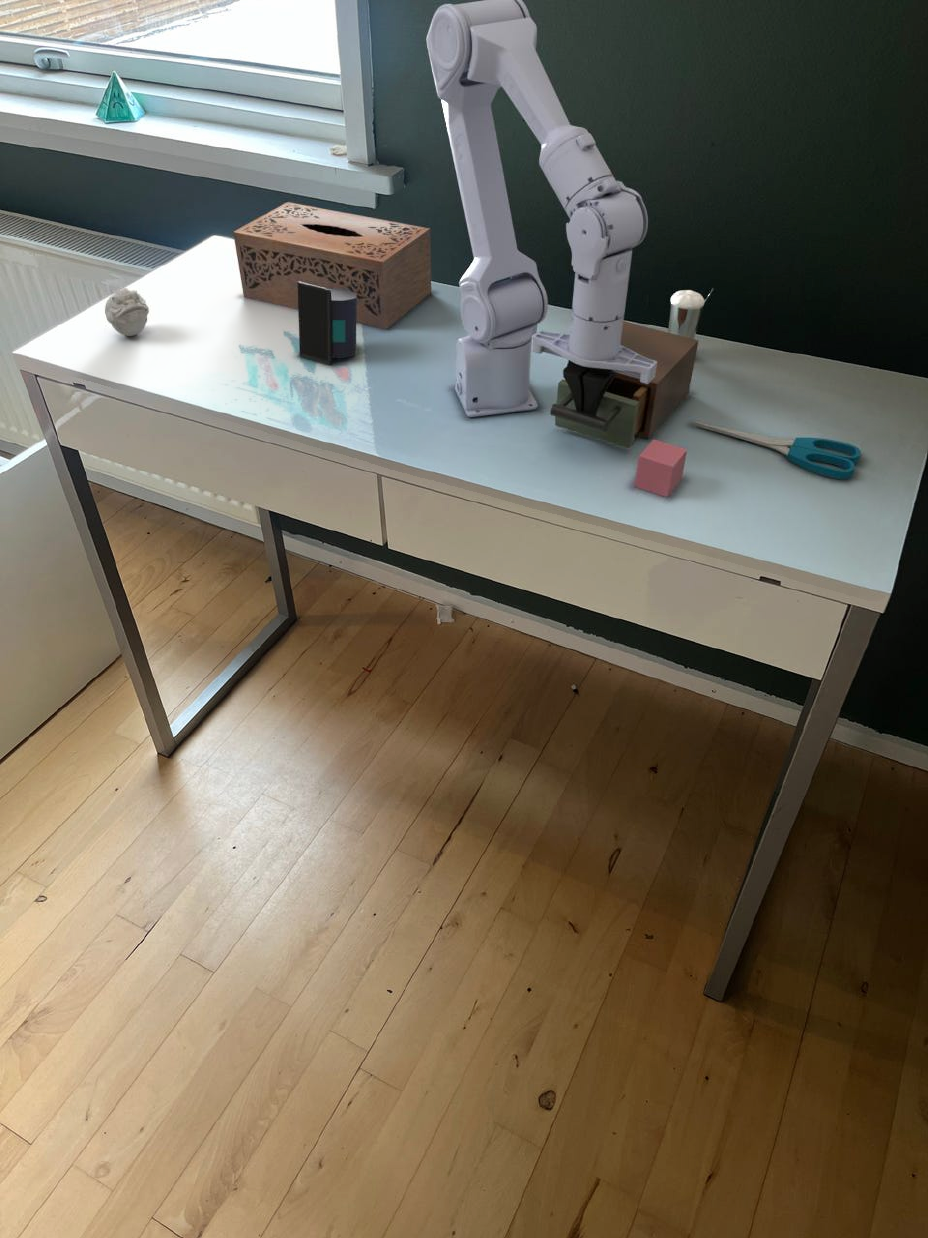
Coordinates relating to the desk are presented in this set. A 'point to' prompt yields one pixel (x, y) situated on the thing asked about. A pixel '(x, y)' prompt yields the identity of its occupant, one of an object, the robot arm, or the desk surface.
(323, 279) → the tissue box cover
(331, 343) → the speaker
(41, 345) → the desk surface
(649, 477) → the block
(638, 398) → the drawer
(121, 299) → the frog figurine
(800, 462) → the scissors
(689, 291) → the milkshake
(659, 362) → the cabinet
